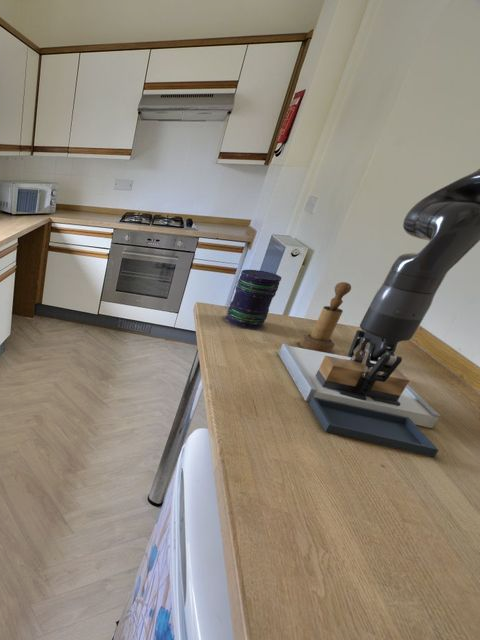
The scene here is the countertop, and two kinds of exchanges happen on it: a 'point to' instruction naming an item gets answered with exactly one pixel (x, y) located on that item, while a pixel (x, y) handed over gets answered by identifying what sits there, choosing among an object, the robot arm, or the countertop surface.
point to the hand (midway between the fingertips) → (354, 386)
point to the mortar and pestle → (326, 323)
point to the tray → (372, 426)
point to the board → (304, 374)
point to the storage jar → (252, 299)
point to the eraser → (349, 372)
